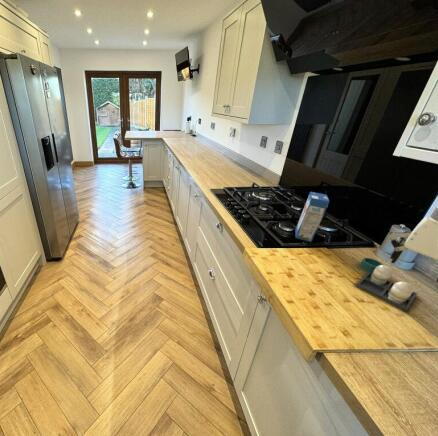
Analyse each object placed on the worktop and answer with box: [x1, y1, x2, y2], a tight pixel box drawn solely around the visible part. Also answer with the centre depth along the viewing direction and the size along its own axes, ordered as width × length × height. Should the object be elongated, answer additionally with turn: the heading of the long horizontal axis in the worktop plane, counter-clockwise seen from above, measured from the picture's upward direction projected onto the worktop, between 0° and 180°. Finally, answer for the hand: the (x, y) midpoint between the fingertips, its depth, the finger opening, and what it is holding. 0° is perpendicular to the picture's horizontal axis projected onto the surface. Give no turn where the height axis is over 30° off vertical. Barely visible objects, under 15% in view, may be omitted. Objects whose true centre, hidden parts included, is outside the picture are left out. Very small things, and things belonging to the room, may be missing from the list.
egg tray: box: [355, 272, 418, 313], centre depth 78 cm, size 13×13×2 cm
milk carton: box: [294, 191, 330, 243], centre depth 106 cm, size 10×6×20 cm, turn 151°
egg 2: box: [388, 281, 414, 304], centre depth 73 cm, size 4×4×7 cm
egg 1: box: [371, 264, 393, 285], centre depth 80 cm, size 4×4×7 cm
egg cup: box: [359, 257, 384, 273], centre depth 88 cm, size 6×6×4 cm
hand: (414, 270), depth 69 cm, fingers open, 9 cm apart
